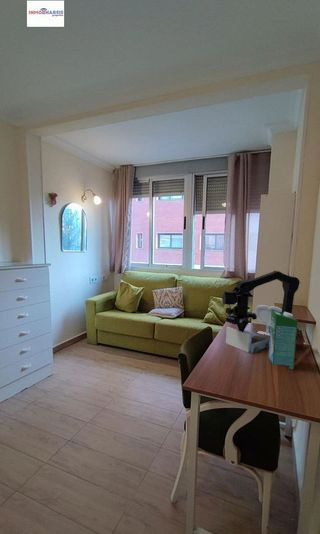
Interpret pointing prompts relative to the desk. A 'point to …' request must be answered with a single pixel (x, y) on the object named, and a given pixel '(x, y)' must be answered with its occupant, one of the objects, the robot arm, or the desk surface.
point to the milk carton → (282, 338)
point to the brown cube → (256, 339)
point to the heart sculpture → (265, 316)
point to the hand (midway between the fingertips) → (240, 333)
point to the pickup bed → (258, 345)
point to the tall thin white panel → (238, 339)
